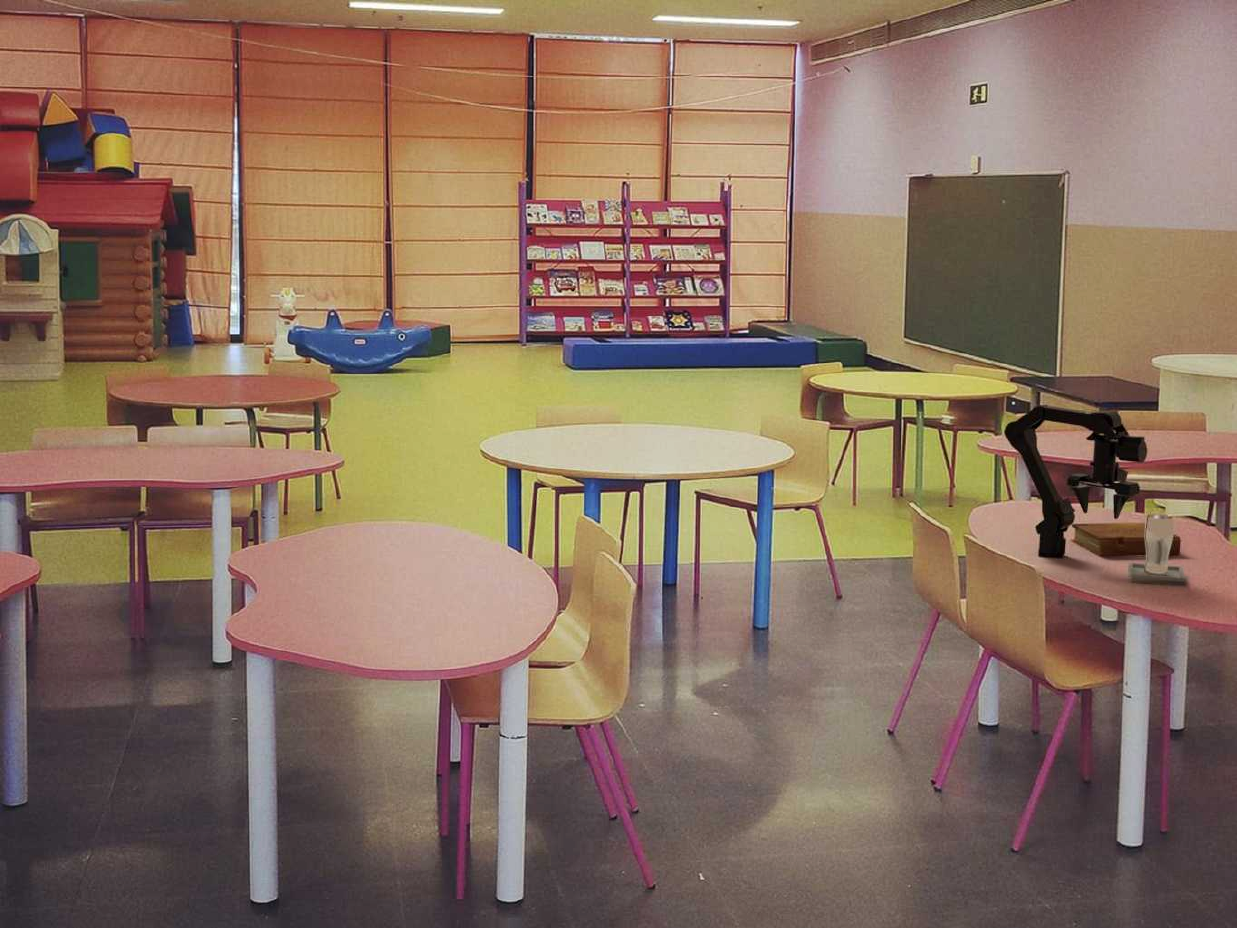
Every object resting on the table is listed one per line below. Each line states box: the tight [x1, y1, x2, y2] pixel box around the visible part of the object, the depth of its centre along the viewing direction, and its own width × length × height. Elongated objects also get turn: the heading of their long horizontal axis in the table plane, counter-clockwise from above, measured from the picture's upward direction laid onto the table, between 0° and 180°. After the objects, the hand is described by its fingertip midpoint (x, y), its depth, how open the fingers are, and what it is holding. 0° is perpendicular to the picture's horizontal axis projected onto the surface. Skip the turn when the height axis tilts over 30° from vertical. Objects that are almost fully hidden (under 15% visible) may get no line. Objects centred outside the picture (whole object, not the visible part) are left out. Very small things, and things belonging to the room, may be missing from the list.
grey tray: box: [1127, 562, 1187, 587], centre depth 357 cm, size 13×13×2 cm
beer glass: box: [1143, 513, 1174, 576], centre depth 356 cm, size 7×7×15 cm
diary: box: [1070, 522, 1182, 557], centre depth 390 cm, size 23×19×6 cm
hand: (1100, 515), depth 371 cm, fingers open, 9 cm apart
